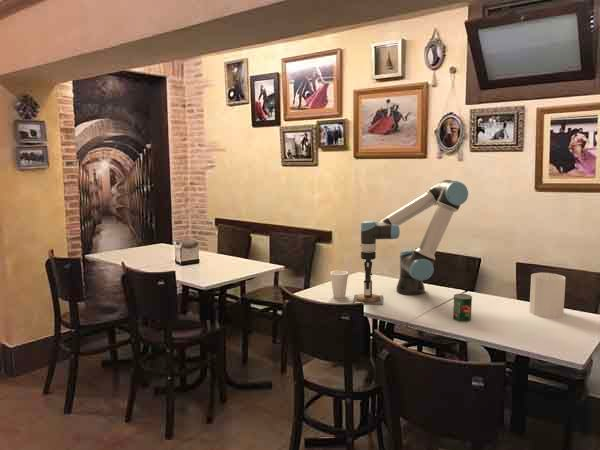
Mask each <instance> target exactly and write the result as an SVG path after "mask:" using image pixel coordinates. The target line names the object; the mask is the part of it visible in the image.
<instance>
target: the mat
mask: <svg viewBox="0 0 600 450" xmlns="http://www.w3.org/2000/svg"><path fill="white" fill-rule="evenodd" d="M357 295H358V294H354V295H353V299H352V300H353V301H352V304H353V303H355V302H361V301H358V300H357ZM377 295H378V296H380V300H379V301H377V302H363V303H364V304H363V305H374V306H376V305H377V306H378V305H379V306H383V305H384V304H383V303H384V302H383V301H384V296H383V295H379V294H377Z"/></svg>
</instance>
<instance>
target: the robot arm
mask: <svg viewBox="0 0 600 450" xmlns="http://www.w3.org/2000/svg"><path fill="white" fill-rule="evenodd" d="M468 197H469V190H468V188H467V186H466V184H464V183H463V182H460V181H458V180H451V179H446V180H442V181H440V182H438V183H436V184H434V186H432V187H430V188H428V189H427V190H426V191H425V193H423V194H422V195H421V196H419V197H417V198H416V199H414V200H413V201H411V202H409V203H408V204H406V205H404V206H403V207H400V208H399V209H398V210H396V211H394V212H393V213H391V214H389V215H388V216H386V217H384V218H382V219H381V220H376V221H374V220H364V221H362V222H361V223H360V243H361V244H359V247H361V248H360V258H361V260H364V264H363V265H364V271H365V272H364V273H365V275H364V277H365V278H364V280H363V283H365V295H370V280H372V276H373V273H372V268H373V261H372V260H375V259H376V258H377V257H376V255H377V254H376V253H377V251H376V250H377V242H376V241H377V240H398V239H399V237H400V234H401V233H400V226H401V225H403V224H405V223H407V221H409V220H411V219H413V218H415V217H416V216H417V215H419V214H421V213H423V212H424V211H426V210H428V209H430V208H431V207H433V206H435V207H436V209H435V211H434V214H433V216H432V217H431V220H430V223H429V224H428V226H427V229H426V231H425V233H424V236H423V237H422V240H421V241H420V245H419V246H418V248H416V249H405V250H401V251H400V252H399V253H400V254H399V278H398V281H397V285H396V292H397V293H399V294H401V295H402V294H403V295H407V296H408V295H409V296H410V295H412V296H415V295H422V294H424V293H425V284H424V281H426V280H428V279H430V278H431V276H432V275H433V274H434V271H435V270H434V263H435V261H436V256H435V254H436V252H437V250H438V247H439V246H440V242H441V241H442V239H443V237H444V234H445V233H446V230H447V227H449V226H448V225H449V223H450V221H451V219H452V217H453V215H454V213H455V212H458V211H459V209H460V207H461V205H463V204H464V203H465V202H467V200H468Z"/></svg>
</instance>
